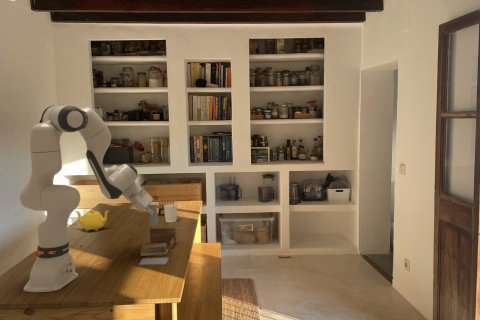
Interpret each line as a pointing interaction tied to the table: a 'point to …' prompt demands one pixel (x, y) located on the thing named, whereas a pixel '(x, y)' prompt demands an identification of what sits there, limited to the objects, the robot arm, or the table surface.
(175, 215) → the white cup
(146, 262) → the felt mat
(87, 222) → the teapot
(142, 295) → the table surface
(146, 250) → the offcut stack
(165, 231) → the walnut rack
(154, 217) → the batten
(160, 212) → the ammunition clip
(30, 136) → the robot arm
